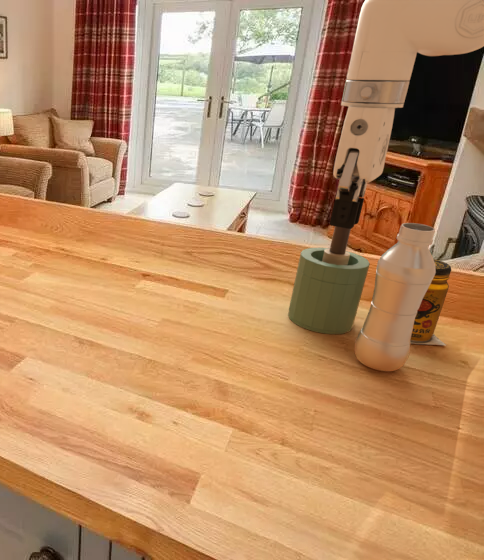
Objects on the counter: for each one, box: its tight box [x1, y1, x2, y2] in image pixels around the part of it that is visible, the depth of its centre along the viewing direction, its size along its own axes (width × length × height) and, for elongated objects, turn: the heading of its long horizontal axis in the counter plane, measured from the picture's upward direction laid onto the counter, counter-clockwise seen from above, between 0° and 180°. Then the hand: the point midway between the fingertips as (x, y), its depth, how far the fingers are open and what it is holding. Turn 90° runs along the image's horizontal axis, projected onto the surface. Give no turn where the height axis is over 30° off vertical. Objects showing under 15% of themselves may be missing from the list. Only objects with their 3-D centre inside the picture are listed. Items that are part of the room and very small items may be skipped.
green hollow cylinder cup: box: [287, 246, 371, 335], centre depth 79 cm, size 10×10×11 cm
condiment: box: [410, 258, 452, 346], centre depth 75 cm, size 7×8×12 cm
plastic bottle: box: [353, 222, 436, 372], centre depth 65 cm, size 6×7×20 cm
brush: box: [322, 226, 352, 265], centre depth 75 cm, size 4×4×15 cm
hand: (343, 223), depth 74 cm, fingers closed on brush, 2 cm apart
